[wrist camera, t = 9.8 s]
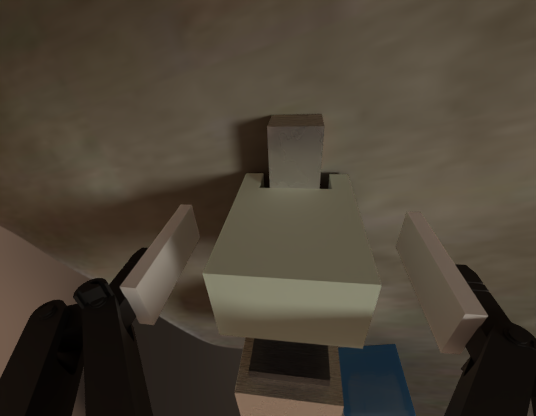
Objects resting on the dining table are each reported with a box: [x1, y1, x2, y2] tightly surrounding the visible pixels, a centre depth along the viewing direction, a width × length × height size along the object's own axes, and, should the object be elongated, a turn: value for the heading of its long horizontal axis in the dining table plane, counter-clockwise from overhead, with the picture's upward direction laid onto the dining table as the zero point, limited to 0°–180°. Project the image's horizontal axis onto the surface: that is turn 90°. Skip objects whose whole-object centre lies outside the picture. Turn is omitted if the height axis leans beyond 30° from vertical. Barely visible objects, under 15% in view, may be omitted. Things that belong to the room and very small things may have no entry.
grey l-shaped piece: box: [235, 114, 344, 416], centre depth 18 cm, size 22×7×10 cm, turn 3°
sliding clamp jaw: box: [203, 173, 382, 349], centre depth 15 cm, size 5×7×9 cm
